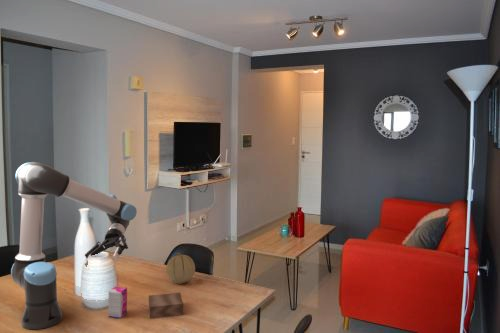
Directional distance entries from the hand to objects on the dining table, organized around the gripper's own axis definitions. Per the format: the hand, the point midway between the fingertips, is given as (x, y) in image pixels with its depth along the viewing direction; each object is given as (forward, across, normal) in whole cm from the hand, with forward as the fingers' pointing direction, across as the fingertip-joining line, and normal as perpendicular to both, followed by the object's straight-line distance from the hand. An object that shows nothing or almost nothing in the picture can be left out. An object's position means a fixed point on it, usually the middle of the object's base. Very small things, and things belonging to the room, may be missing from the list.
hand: (100, 262), depth 182 cm
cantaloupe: (-24, -19, -39) cm, 49 cm away
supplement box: (+11, -2, -21) cm, 24 cm away
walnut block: (+7, -20, -28) cm, 35 cm away
